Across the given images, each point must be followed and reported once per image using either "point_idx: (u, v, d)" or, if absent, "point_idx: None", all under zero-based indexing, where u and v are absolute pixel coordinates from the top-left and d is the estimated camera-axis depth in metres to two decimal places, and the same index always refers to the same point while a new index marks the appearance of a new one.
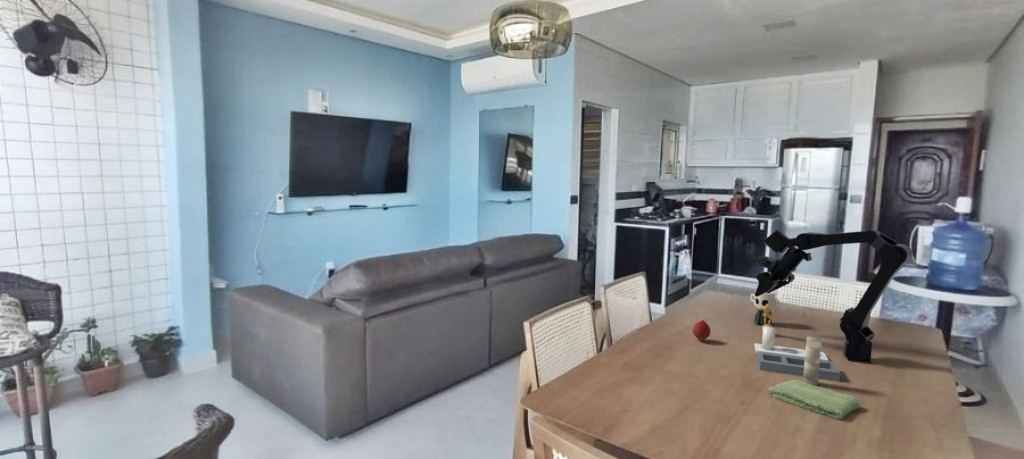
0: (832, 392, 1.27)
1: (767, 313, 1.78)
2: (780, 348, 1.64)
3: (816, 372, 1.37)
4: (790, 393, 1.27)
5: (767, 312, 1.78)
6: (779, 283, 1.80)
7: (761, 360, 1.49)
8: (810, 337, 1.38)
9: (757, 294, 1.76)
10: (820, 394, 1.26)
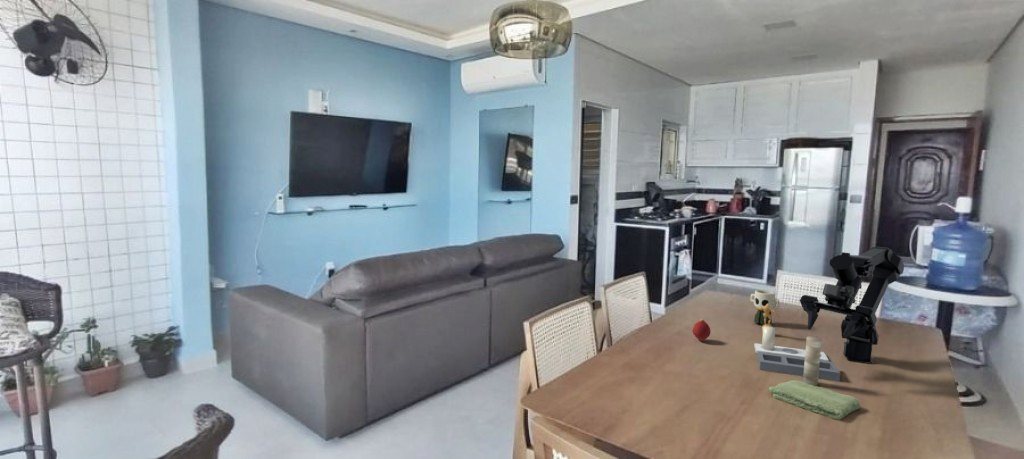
0: (832, 392, 1.27)
1: (767, 313, 1.78)
2: (780, 348, 1.64)
3: (816, 372, 1.37)
4: (790, 393, 1.27)
5: (767, 312, 1.78)
6: (815, 315, 1.48)
7: (761, 360, 1.49)
8: (810, 337, 1.38)
9: (847, 335, 1.38)
10: (820, 394, 1.26)
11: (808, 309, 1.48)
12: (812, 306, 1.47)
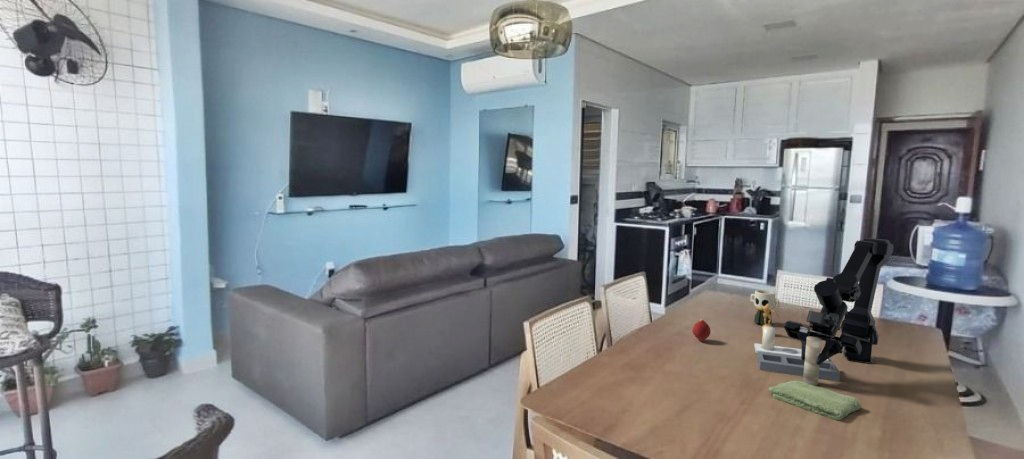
0: (833, 393, 1.27)
1: (767, 313, 1.78)
2: (780, 348, 1.64)
3: (816, 372, 1.37)
4: (790, 393, 1.27)
5: (767, 312, 1.78)
6: None
7: (761, 360, 1.49)
8: (810, 337, 1.38)
9: (821, 361, 1.36)
10: (820, 395, 1.26)
11: (802, 338, 1.41)
12: (806, 335, 1.40)
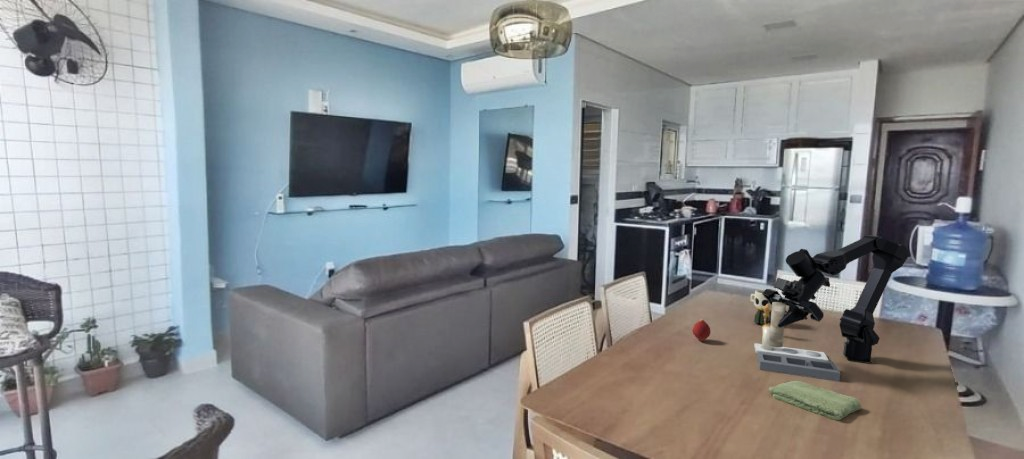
0: (833, 393, 1.27)
1: (767, 313, 1.78)
2: (780, 348, 1.64)
3: (778, 334, 1.47)
4: (790, 393, 1.27)
5: (767, 312, 1.78)
6: None
7: (761, 360, 1.49)
8: (776, 302, 1.49)
9: (782, 324, 1.46)
10: (820, 395, 1.26)
11: None
12: (776, 301, 1.51)
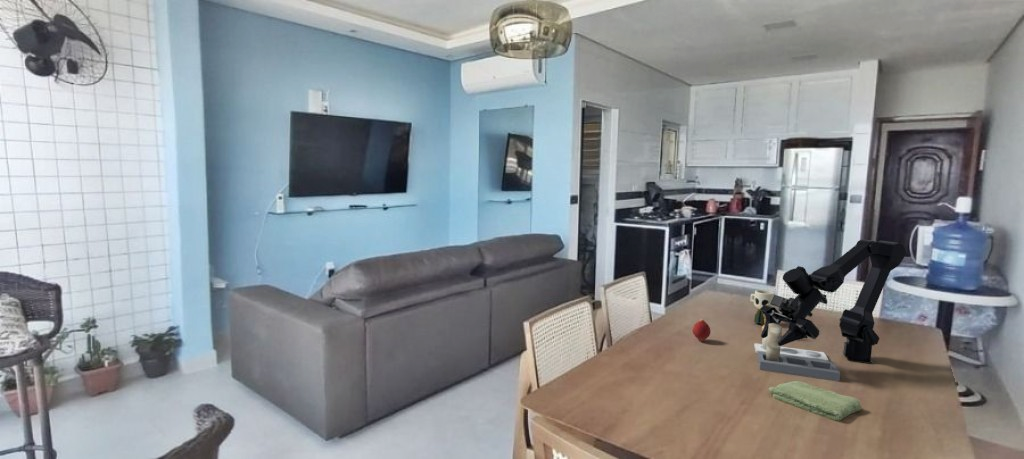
0: (834, 393, 1.27)
1: None
2: (780, 348, 1.64)
3: (774, 355, 1.49)
4: (790, 393, 1.26)
5: None
6: None
7: (761, 360, 1.49)
8: (773, 323, 1.51)
9: (782, 343, 1.46)
10: (821, 395, 1.25)
11: (766, 319, 1.55)
12: (769, 316, 1.54)
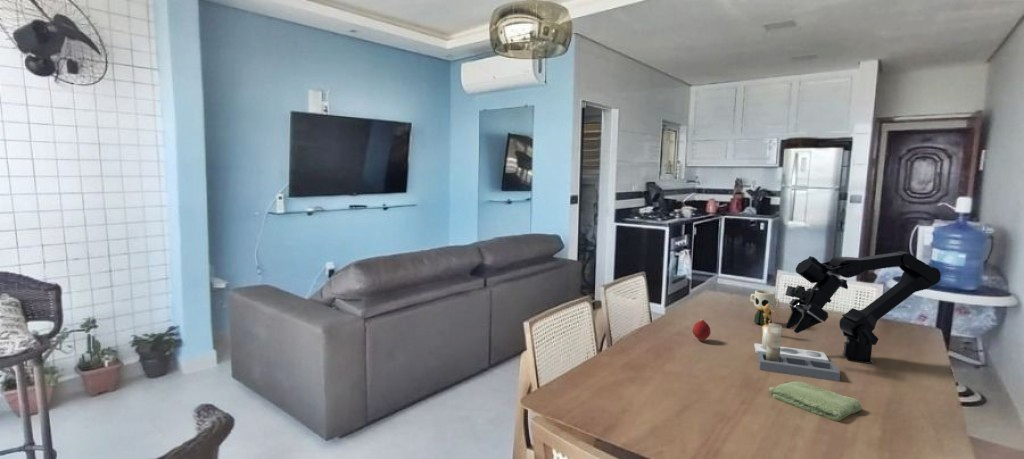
0: (834, 394, 1.26)
1: (767, 313, 1.78)
2: (780, 348, 1.64)
3: (774, 355, 1.49)
4: (790, 393, 1.26)
5: (767, 312, 1.78)
6: (800, 316, 1.62)
7: (761, 360, 1.49)
8: (773, 323, 1.51)
9: (798, 330, 1.53)
10: (821, 395, 1.25)
11: (791, 311, 1.64)
12: (792, 308, 1.63)
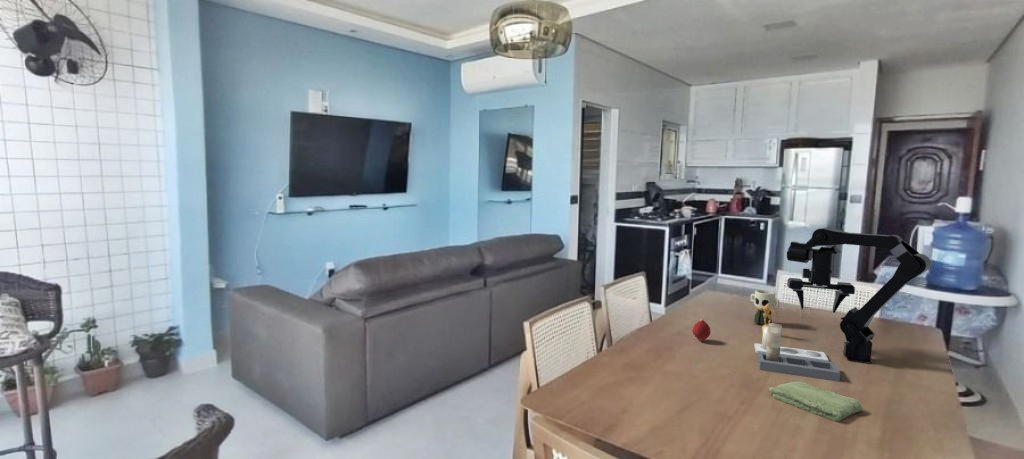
0: (834, 394, 1.26)
1: (767, 313, 1.78)
2: (780, 348, 1.64)
3: (774, 355, 1.49)
4: (789, 393, 1.26)
5: (767, 312, 1.78)
6: (837, 297, 1.63)
7: (761, 360, 1.49)
8: (773, 323, 1.50)
9: (800, 305, 1.68)
10: (821, 396, 1.25)
11: None
12: None
